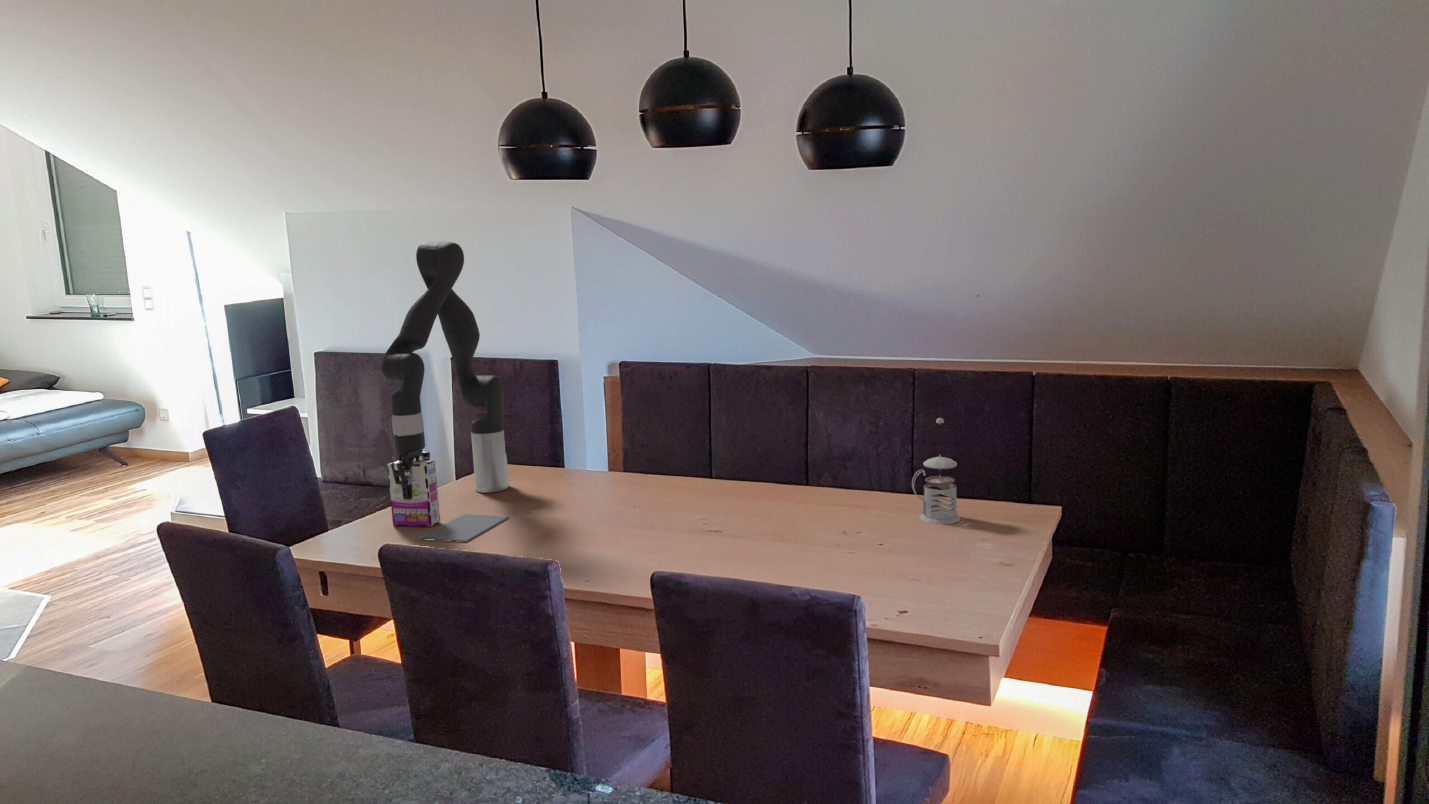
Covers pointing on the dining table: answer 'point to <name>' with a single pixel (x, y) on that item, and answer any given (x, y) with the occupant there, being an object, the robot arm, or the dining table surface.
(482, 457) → the robot arm
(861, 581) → the dining table surface
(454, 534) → the mat
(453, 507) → the dining table surface
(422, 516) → the candy bar box
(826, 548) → the dining table surface
